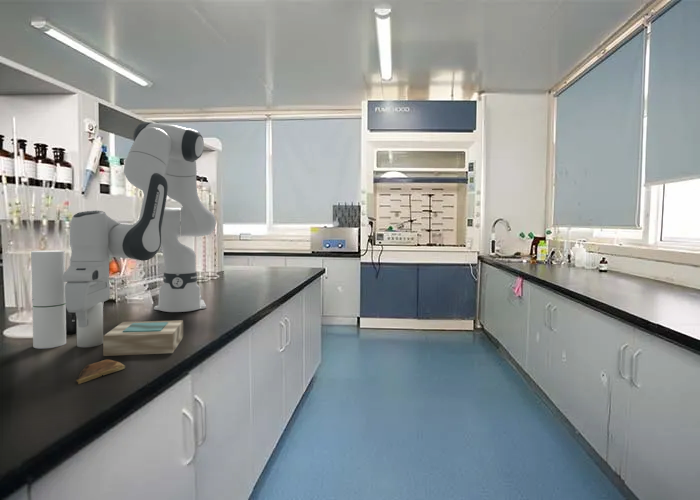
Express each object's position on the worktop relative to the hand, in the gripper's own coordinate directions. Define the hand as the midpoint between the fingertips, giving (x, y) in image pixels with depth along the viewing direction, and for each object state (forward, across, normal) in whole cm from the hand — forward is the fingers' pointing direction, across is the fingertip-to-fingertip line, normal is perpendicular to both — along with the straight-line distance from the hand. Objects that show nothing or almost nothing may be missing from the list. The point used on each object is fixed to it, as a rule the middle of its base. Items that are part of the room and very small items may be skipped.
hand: (90, 322), depth 111 cm
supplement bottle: (+6, -15, -10) cm, 19 cm away
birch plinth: (+6, +4, +15) cm, 16 cm away
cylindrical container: (+6, -1, -10) cm, 12 cm away
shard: (+7, +24, +11) cm, 27 cm away
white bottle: (+6, 0, 0) cm, 6 cm away
